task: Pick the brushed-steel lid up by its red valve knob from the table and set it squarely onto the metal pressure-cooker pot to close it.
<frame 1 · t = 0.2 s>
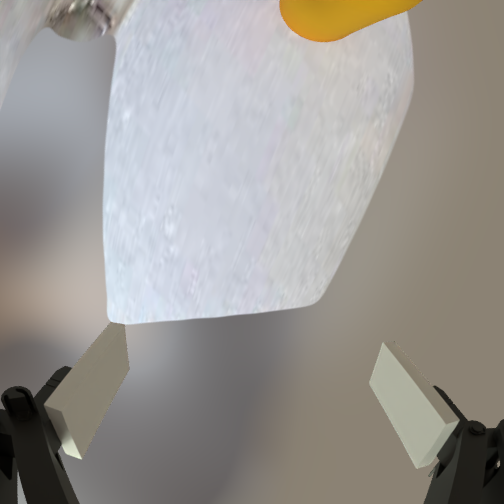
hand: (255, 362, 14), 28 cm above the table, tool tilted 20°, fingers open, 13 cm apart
beer bottle: (317, 10, 26), on the table
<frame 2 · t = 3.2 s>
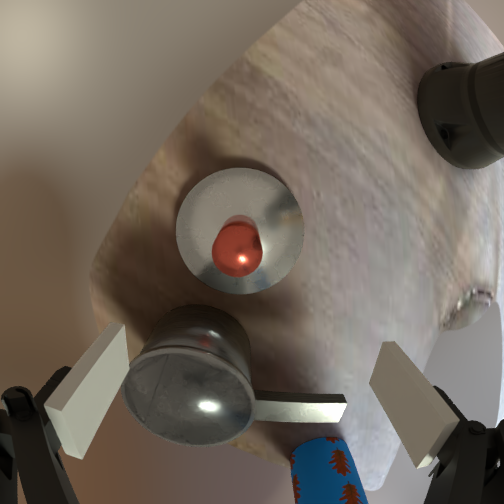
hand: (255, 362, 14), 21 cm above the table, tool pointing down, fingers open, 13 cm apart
pot: (200, 349, 37), on the table
thermos: (318, 453, 43), on the table
lid: (240, 230, 34), on the table
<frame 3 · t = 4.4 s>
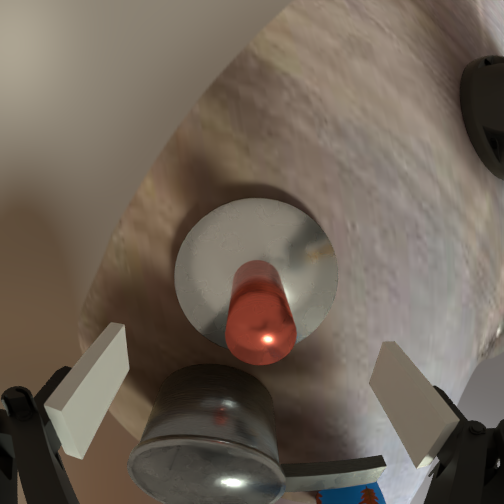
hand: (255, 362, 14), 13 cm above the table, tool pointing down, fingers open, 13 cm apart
pot: (214, 409, 30), on the table
thermos: (346, 489, 36), on the table
lid: (256, 277, 26), on the table
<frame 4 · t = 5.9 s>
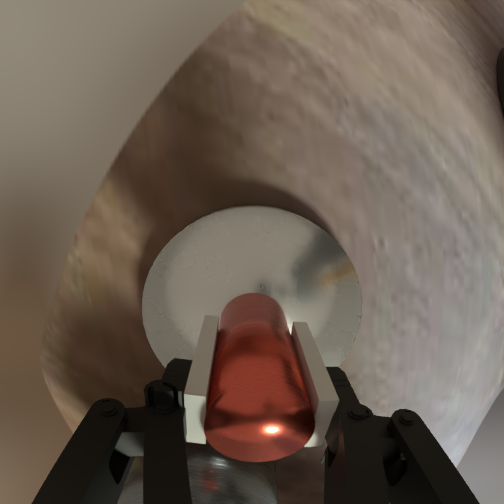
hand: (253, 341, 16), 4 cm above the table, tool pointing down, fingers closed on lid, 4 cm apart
pot: (204, 456, 23), on the table
lid: (252, 312, 19), on the table, touching gripper
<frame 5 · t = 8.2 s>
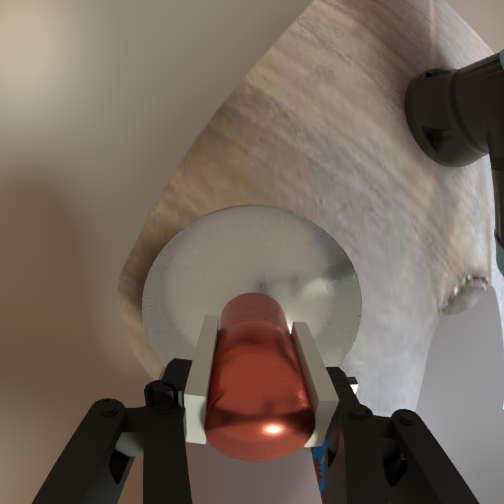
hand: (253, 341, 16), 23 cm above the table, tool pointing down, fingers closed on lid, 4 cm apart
thermos: (336, 437, 47), on the table
lid: (252, 312, 19), point 19 cm above the table, touching gripper
when the fingers open (16 cm above the table, at t = 10.9 s): lid drops 1 cm, resting on pot.
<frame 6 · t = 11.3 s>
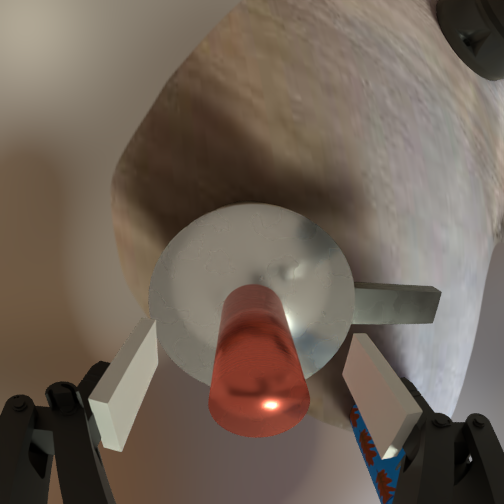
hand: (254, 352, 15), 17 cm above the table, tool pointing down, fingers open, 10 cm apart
pot: (248, 262, 31), on the table
thermos: (381, 406, 37), on the table
lid: (252, 303, 21), point 11 cm above the table, touching pot
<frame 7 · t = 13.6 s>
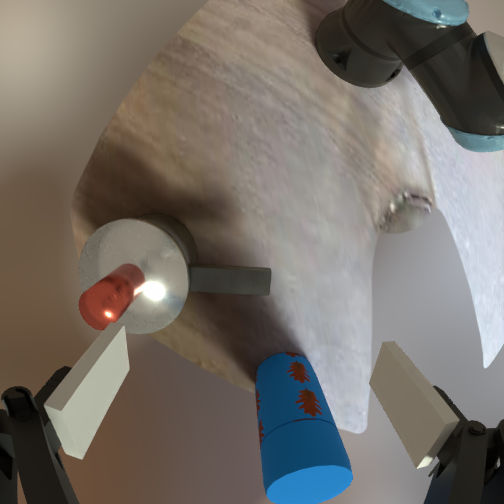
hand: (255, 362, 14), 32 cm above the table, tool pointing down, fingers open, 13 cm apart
pot: (156, 255, 45), on the table
thermos: (284, 375, 50), on the table
lid: (133, 276, 34), point 11 cm above the table, touching pot
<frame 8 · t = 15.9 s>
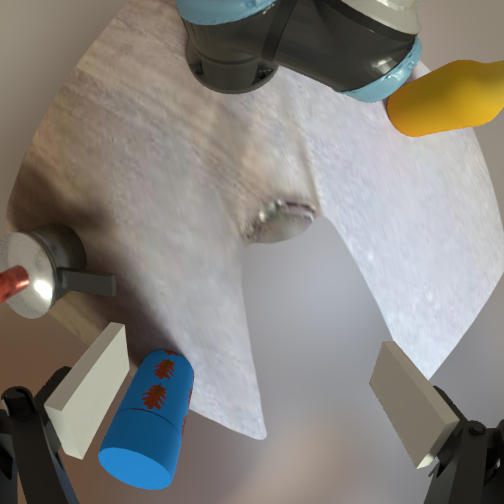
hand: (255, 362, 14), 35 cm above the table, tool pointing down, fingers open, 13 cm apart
beer bottle: (406, 113, 43), on the table
pot: (59, 257, 47), on the table
thermos: (168, 371, 53), on the table
lid: (25, 274, 37), point 11 cm above the table, touching pot
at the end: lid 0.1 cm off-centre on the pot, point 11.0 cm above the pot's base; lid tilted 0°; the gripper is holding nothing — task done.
